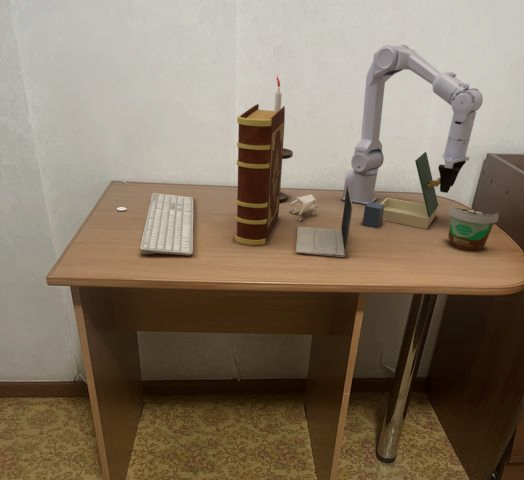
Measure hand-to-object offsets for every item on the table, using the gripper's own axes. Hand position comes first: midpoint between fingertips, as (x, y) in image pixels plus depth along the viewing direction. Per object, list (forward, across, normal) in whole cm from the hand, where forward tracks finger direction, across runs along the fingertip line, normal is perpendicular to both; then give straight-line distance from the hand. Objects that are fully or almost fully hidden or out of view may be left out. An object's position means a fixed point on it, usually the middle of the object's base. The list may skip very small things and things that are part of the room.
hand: (446, 188), depth 148 cm
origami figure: (+10, -18, +36) cm, 42 cm away
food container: (+10, -17, -10) cm, 22 cm away
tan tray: (+10, -2, +10) cm, 14 cm away
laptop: (+10, -35, +24) cm, 43 cm away
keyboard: (+10, -46, +64) cm, 79 cm away
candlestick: (+10, -8, +51) cm, 53 cm away
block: (+10, -13, +17) cm, 23 cm away
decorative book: (+10, -36, +42) cm, 56 cm away
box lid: (-1, -2, +5) cm, 6 cm away
